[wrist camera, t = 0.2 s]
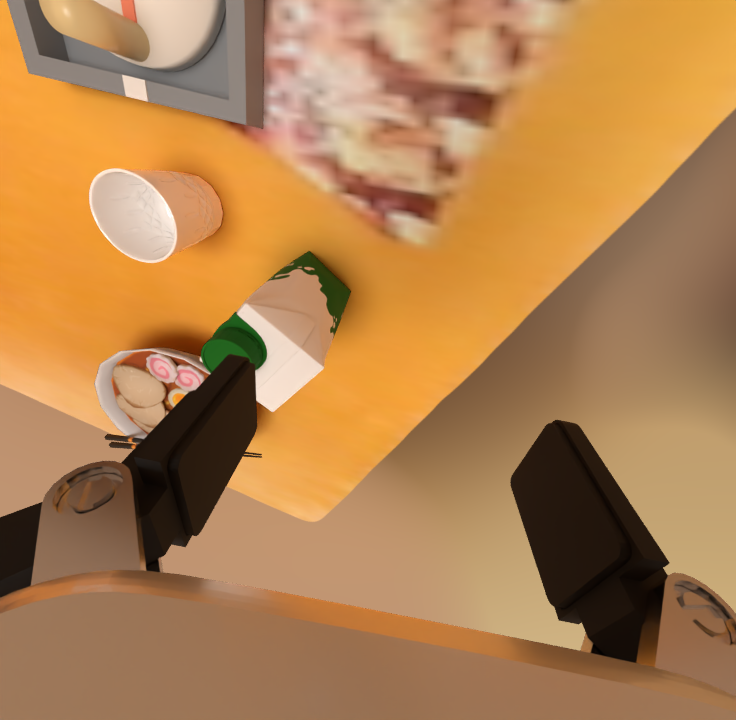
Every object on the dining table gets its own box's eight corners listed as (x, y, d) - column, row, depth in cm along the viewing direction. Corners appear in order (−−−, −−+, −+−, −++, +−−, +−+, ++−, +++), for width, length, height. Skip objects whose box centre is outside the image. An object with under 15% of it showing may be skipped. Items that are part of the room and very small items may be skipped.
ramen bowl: (266, 332, 45) (242, 362, 38) (281, 442, 57) (264, 480, 51) (103, 315, 46) (50, 342, 40) (151, 426, 59) (118, 461, 52)
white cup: (148, 188, 36) (70, 196, 28) (197, 152, 34) (128, 149, 25) (194, 251, 40) (137, 275, 31) (241, 223, 37) (194, 241, 29)
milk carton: (308, 239, 37) (229, 303, 21) (361, 292, 40) (330, 385, 24) (267, 287, 41) (173, 374, 25) (319, 332, 44) (266, 437, 27)
